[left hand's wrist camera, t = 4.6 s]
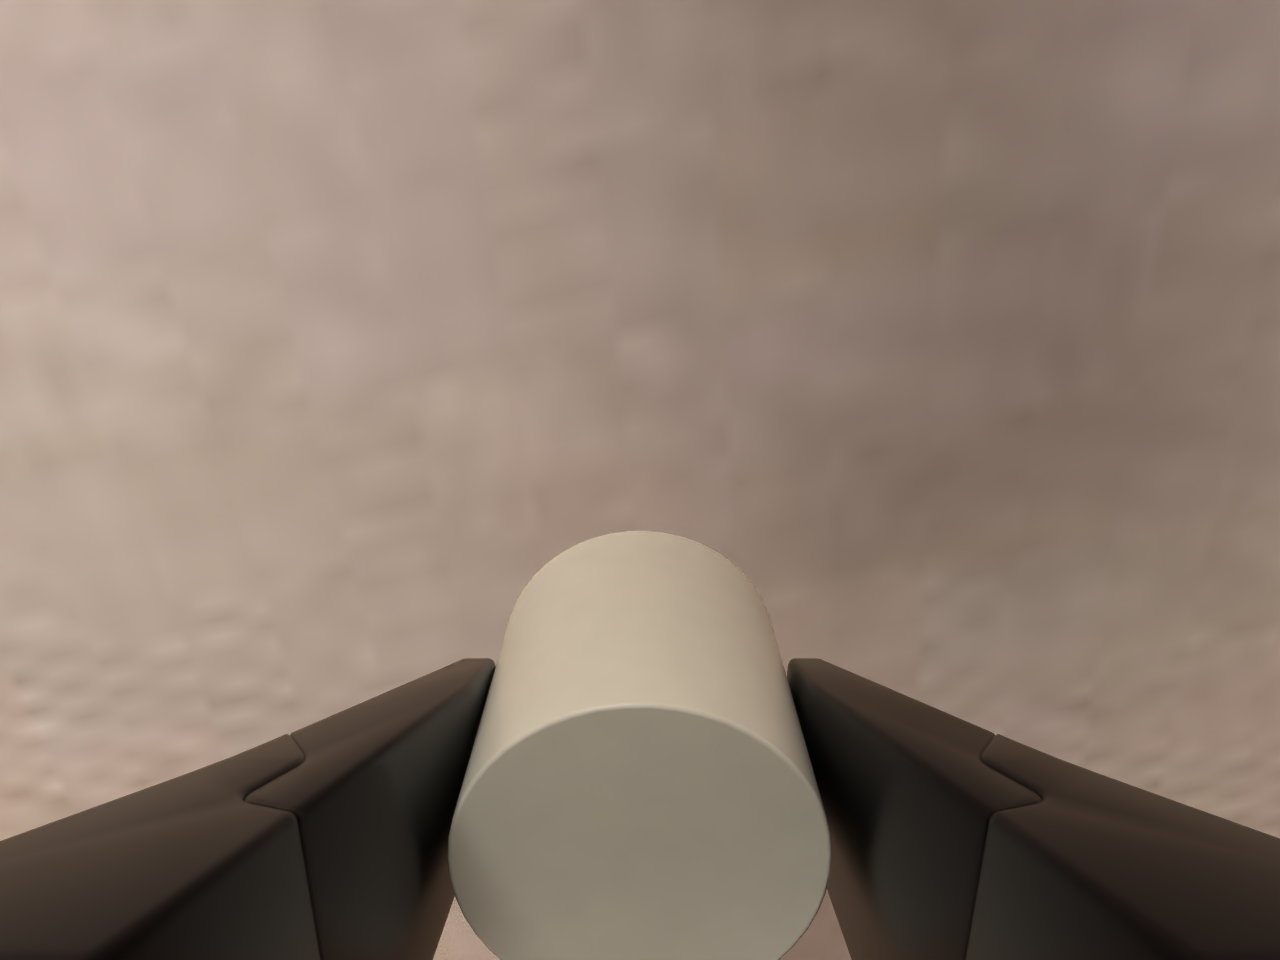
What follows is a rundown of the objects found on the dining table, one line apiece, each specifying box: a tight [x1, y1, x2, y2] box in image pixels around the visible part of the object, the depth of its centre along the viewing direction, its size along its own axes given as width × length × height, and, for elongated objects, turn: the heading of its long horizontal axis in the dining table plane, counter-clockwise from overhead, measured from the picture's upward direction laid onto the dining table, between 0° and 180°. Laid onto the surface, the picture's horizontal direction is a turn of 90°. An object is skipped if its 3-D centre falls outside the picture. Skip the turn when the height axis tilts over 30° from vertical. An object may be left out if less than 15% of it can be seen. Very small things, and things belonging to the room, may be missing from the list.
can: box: [448, 531, 832, 960], centre depth 11 cm, size 4×4×4 cm
